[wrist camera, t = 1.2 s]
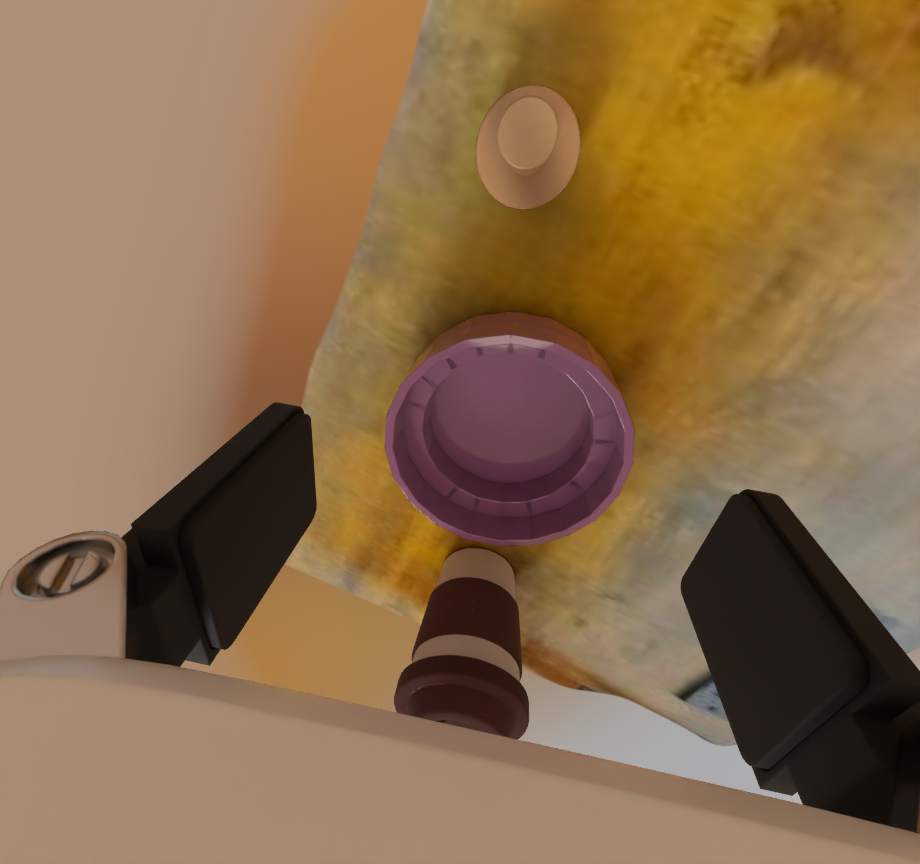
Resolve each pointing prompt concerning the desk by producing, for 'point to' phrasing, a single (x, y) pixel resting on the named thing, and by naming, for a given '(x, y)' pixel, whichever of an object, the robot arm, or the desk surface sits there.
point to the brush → (528, 147)
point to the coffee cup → (469, 650)
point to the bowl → (510, 431)
